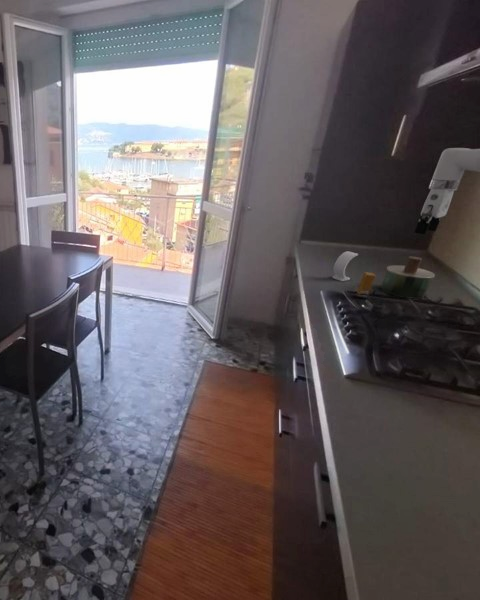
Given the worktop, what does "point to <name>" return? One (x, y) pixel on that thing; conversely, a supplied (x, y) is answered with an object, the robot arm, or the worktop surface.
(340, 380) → the worktop surface
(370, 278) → the supplement box
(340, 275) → the headphone stand
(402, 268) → the tin lid
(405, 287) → the lunch tin
